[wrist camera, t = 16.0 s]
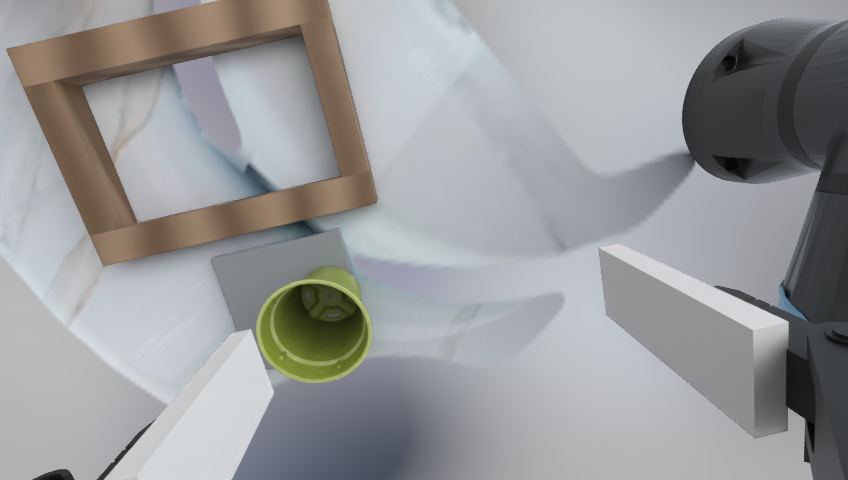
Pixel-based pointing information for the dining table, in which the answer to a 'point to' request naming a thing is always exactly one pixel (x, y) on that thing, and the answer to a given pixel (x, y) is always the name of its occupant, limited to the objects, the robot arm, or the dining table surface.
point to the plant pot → (315, 327)
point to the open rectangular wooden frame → (170, 44)
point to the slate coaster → (274, 273)
